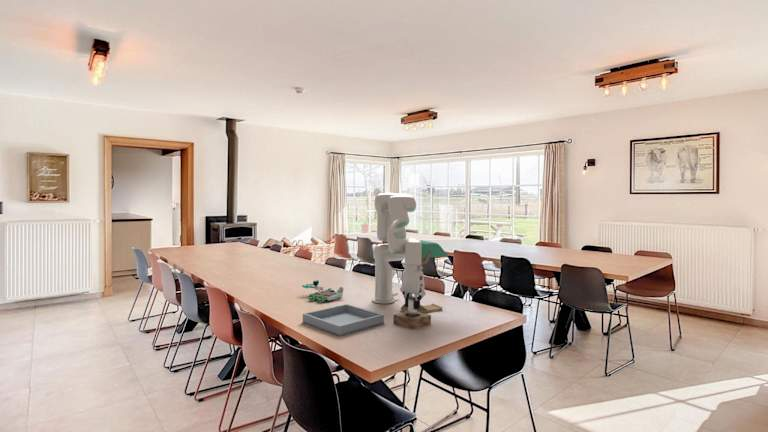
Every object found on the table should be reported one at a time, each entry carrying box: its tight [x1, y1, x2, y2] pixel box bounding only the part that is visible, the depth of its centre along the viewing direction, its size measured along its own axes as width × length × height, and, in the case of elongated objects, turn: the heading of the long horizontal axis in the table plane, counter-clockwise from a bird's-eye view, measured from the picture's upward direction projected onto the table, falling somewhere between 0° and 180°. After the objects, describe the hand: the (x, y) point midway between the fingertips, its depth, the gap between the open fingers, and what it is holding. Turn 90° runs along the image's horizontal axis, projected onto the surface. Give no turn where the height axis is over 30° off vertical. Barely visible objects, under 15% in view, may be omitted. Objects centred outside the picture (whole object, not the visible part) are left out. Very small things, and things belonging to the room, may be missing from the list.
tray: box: [302, 303, 385, 337], centre depth 192 cm, size 26×26×4 cm
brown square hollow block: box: [392, 311, 432, 330], centre depth 193 cm, size 12×12×4 cm
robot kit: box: [302, 279, 344, 304], centre depth 240 cm, size 19×25×9 cm
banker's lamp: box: [400, 240, 449, 314], centre depth 215 cm, size 16×21×35 cm
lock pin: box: [408, 295, 417, 317], centre depth 192 cm, size 4×4×12 cm
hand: (412, 307), depth 192 cm, fingers open, 4 cm apart
